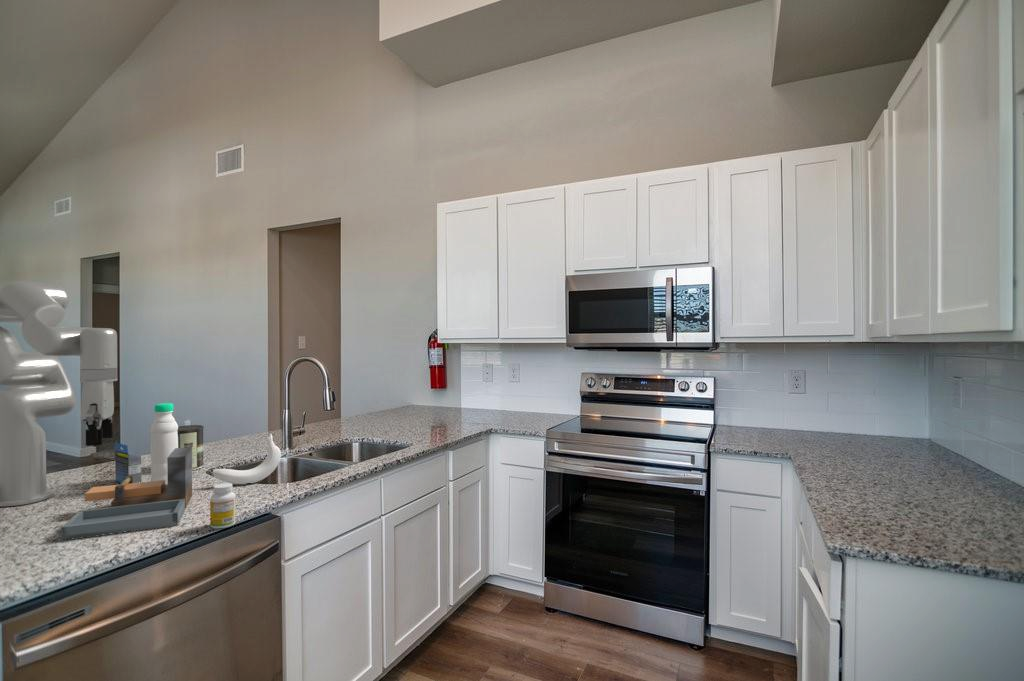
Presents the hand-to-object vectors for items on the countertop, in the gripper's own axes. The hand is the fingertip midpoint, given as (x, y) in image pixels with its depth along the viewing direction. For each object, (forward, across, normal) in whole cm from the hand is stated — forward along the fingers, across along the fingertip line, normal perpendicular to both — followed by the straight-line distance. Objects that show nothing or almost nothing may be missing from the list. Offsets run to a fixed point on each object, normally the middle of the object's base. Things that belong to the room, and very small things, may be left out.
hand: (99, 441), depth 133 cm
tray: (+18, +13, +8) cm, 24 cm away
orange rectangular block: (+14, 0, +6) cm, 15 cm away
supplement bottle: (+19, +24, +29) cm, 42 cm away
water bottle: (+19, -21, +11) cm, 30 cm away
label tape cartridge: (+19, -30, 0) cm, 35 cm away
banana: (+19, -12, +34) cm, 41 cm away
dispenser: (+18, 0, +12) cm, 22 cm away
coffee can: (+19, -41, +14) cm, 47 cm away
